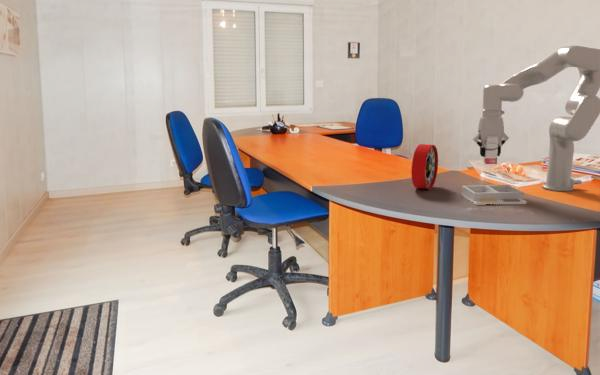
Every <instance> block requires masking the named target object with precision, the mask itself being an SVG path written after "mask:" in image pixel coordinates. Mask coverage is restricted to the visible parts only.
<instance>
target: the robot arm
mask: <svg viewBox="0 0 600 375" xmlns="http://www.w3.org/2000/svg"><path fill="white" fill-rule="evenodd" d="M567 68H577V69H578V73H579V81H578V83H577V85H576V87H575V88H574V89H573V91H572V92H571V95H570V96H569V98H568V99H567V101H566V103H565V107H564V110H565V112H566V113H567V114H569V115H570V116H571V117H570V116H559V117H555V118H554V119H553V120H552V121H551V122H550V124H549V128H548V135H549V148H548V151H549V152H548V159H547V169H546V181H545V183H542V184H541V188H543V189H545V190H548V191H555V192H572V191H574V189H575V185H582V180H581V179H574V178H572V171H573V162H574V161H573V160H574V154H575V144H574V142H579V141H581V140H582V139H584V138H586V136H587V135H588V133H589V132H590V130H591V129H592V127H593V125H594V124H595V122H596V121H597V119H598V118H599V117H600V97H599V96H597V94H598V93H599V91H600V48H593V47H587V46H581V45H568V46H563V47H560V48H557V49H556V50H555V51H553V52H552V53H549V54H548V55H547V56H546V57H544V58H542V59H541V60H539V61H538V62H536V63H535V64H533V65H531V66H529V67H527V68H525V69H524V70H521V71H519V72H518V73H515V74H514V75H512V76H510V77H509V78H508V79H506V80H504V81H503V82H502V83H500V84H488V85H485V86H483V92H482V93H483V94H482V97H483V98H482V115H481V116H482V117H480V118H479V122H478V127H477V134H476V135H475V136H474V137H473V139H472V140H473V141H474V143H476V145H478V147H479V155H480V157H482V158H483V157H485V148H484V146H485V143H486V139H487V136H497V137H499V141H498V154H497V157H500V156H501V153H502V147H503V145H504V144H505V143H506V142H507V141H508V140H509V138H510V137H509V136H508V135H507V134H506V133H505V124H504V118H503V117H502V115H505V110H502V106H503V104H502V103H503V102H510V103H514V102H518V101H519V100H520V99H522V98H523V96H524V94H525V93H524V92H525V91H524V90H525V89H526V88H528V87H533V86H536V85H540V84H543V83H544V82H548V81H549V80H550V79H552V78H553V77H555V76H556V75H558V74H559V73H561V72H562V71H564V70H565V69H567Z"/></svg>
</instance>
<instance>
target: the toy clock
mask: <svg viewBox="0 0 600 375" xmlns="http://www.w3.org/2000/svg"><path fill="white" fill-rule="evenodd" d="M438 167H439V154H438V149H437V147H436V145H435V144H428V143H427V144H425V143H419V144H418V145H417V146H416V147H415V150H414V153H413V156H412V161H411V170H410V172H411V182H412V185H413V187H414V188H415V189H419V190H420V189H422V190H431V189H433V187H434V185H435V183H436V179H437V176H438V169H439V168H438Z"/></svg>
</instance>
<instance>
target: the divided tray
mask: <svg viewBox="0 0 600 375" xmlns="http://www.w3.org/2000/svg"><path fill="white" fill-rule="evenodd" d="M524 194H525V192H524V191H522V190H520V189H518V188H516V187H513V186H512V185H510V184H491V185H490V184H487V185H485V184H484V185H483V184H482V185H477V184H475V185H461V196H462V197H463V198H465V199H467V200H468V201H469V200H470V201H469V202H471V203H472V202H473V203H472V204H474V205H475V204H476V206H487V205H486V204H491V206H493V205H492V204H494V206H495V204H496V205H497V204H498V205H499V204H500V205H527V200H525V199H524ZM498 205H497V206H498Z"/></svg>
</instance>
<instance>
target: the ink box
mask: <svg viewBox="0 0 600 375" xmlns="http://www.w3.org/2000/svg"><path fill="white" fill-rule="evenodd" d="M498 141H499V137H497V136H487V139H486V143H485V146H484V148H485V157H482V162H483V163H484V164H485V165H497V163H498V156H497V154H498Z"/></svg>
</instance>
